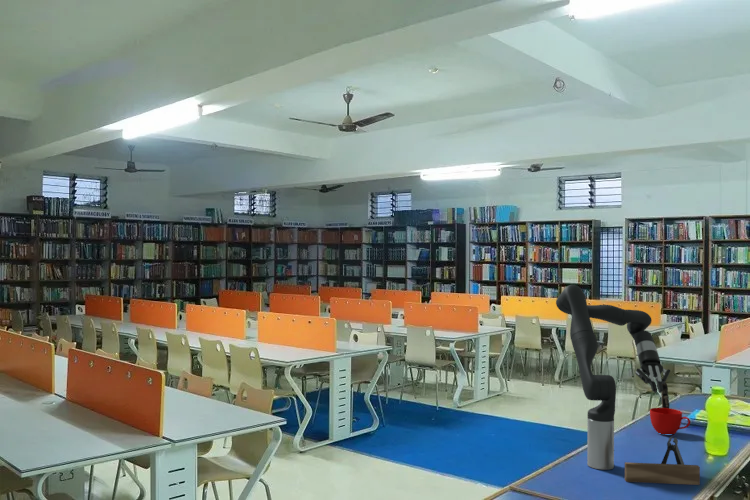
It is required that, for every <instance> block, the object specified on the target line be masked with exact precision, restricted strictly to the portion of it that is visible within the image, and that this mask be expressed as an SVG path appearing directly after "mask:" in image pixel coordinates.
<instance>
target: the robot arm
mask: <svg viewBox="0 0 750 500" xmlns="http://www.w3.org/2000/svg"><path fill="white" fill-rule="evenodd" d="M555 305H556V308H558V310H560V311H561V312H562V313H564V314H566V315H571V320H570V321H571V322H570V330H569V337H570V340H571V344H572V348H573V351H574V354H575V357H576V361H577V365H578V366H577V367H578V369H579V374H580V375H579V377H580V379H581V380H580V381H581V384H582V385H581V386H582V390H583V394H584V396H585V398H586V399H587V400H589V401H597V402H598V401H601V402H600V403H599V404H598V405H596V406H594V407H592V408H590V409H588V410H587V441H586V443H587V452H586V453H587V457H586V458H587V459H586V461H587V463H586V465H587V467H590V468H592V469H596V470H604V471H605V470H607V471H608V470H612V469H614V468H615V464H614V463H615V413H616V400H617V399H616V397H617V385H616V381H615V378H614V376H612V375H611V374H609V375H608V374H593V373H592V362H593V360H594V358H595V356H596V354H597V351H598V348H599V344H598V341H597V338H596V334H595V331H594V329H593V328H594V327H593V326H592V321H591V319H594V320H595V319H596V320H601V321H605V322H607V323H611V324H612V325H613V324H614V325H617V326H620V327H621V326H625V325H626V329H627V332H628V333H629V334H630V336H631V337H632V339H633V341H634V343H635V344H634V345H635V347H636V354H637V357H638V361H639V365H640V368H637V369H636V370H635V373H634V374H635V375H636V376H637V377H638V378H640V380H641V381H643V383H645V384H649V385H650V388H651V391H652V392H653V393H656V394H657V392H658V393H660V394H661V392H662V391H663V386H662V384H664V383H665V382H666V381H667V379H668V377H669V375H670V374H671V370H670V369H665V368H664V366H663V365H662V362H661V359H660V356H659V352H658V349H657V347H656V344H655V341H654V337H653V335H652V334H651V332H650V331H648V330H647V329H648V327H649V326H651V324H652V322H653V321H652V317H651V315H650V314H648V312H645V311H643V310H638V309H624V308H621V307H618V306H616V305H611V304H596V305H595V304H593V305H591V304H588V302H587V297H586V295H585V292H584V290H583V289H582V288H581V287H579V286H578V285H577V284H570V285H567V286H566V287H565V288H564V289H563V290H562V292H560V294H559V295H558V297H557V298H556V300H555ZM661 374H663V377H661Z"/></svg>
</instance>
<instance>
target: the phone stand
mask: <svg viewBox="0 0 750 500" xmlns="http://www.w3.org/2000/svg"><path fill="white" fill-rule="evenodd" d="M672 439H673V440H672ZM671 442H673V443H674V444H672V443H671ZM678 443H679V441H678V438H677V437H673V436H669V438H668V440H667V443H666V446H667V449H666V451H665V453H664V456H663V458H662V461H661V463H660V464H668V459H669V456H670V453H671V451H672V452H673V455H674V458H675V461H676V464H681V465H685V462H684V460H683V458H682V454H681V451H680V449H679V445H678Z"/></svg>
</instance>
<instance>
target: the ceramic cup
mask: <svg viewBox="0 0 750 500" xmlns="http://www.w3.org/2000/svg"><path fill="white" fill-rule="evenodd" d="M649 417H650V423H651V426H652V427H653V430H655V432H658V433H661V434H674V435H675V434H676V433H677V432H678V431H679V430H683V429H686V428H689V427H690V425H691V419H690V418H689V417H688V416H683V411H681V410H679V409H674V408H670V407H669V408H662V407H652V408H650V409H649ZM684 419H685V420H687V424H686V425H684V426H682V421H683V420H684ZM658 433H657V434H658ZM661 434H660V435H661Z"/></svg>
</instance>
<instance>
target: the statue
mask: <svg viewBox="0 0 750 500" xmlns="http://www.w3.org/2000/svg"><path fill="white" fill-rule="evenodd" d="M662 386H663V391H662V392H661V393H660V394H661V395H660V396H661V408H669V409H670V401H669V400H670V399H669V397H670V396H669V392H668V391H669V388H668V384H667V382H666V381H665V383H664V384H662Z"/></svg>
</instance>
